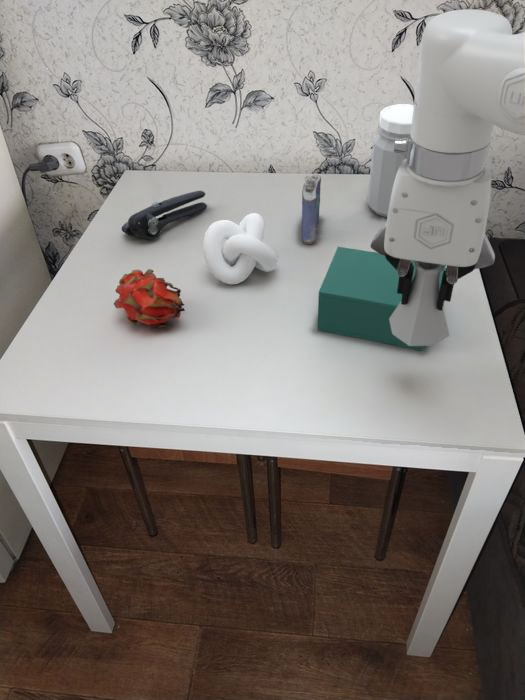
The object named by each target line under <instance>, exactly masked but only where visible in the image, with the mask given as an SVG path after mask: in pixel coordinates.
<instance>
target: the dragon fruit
mask: <svg viewBox="0 0 525 700" xmlns="http://www.w3.org/2000/svg"><path fill="white" fill-rule="evenodd" d="M118 284H119V285H117V286H116V288H115V293H116V294H118V295H119V297H118V298H117V299H115V301H114V302H113V305H114V307H115V308H116V309H124V311H125V314H126V317H127V319H128V321H129V322H130V323H131V324H132V325H133V326H137V325H138V324H139V322H140V323H141V324H144V325H147V326H150V327H154V328H165V327H168V326H171V324H169V323H166V322H167V321H168V320H171V319H175V318H177V319H179V318H180V316H181V313H182V312H186V309H185V307H183V306H185V303H183V301H182V298H180V296H181V292H182V290H181V288H178V287H176V286H174V285H173V283H171V282H168V281H166V279H164V277H157V276H156V274H155V273H154V270H153V269H146V271H145V272H143V271H142V270H141V269H133V270H132V271H131V272H130V273H124V274H123V275H122V277H121V278H120V279H119V281H118ZM167 287H169V288H170V289H169V288H167ZM188 302H189V301H188Z"/></svg>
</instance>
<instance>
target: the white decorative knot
mask: <svg viewBox="0 0 525 700" xmlns="http://www.w3.org/2000/svg"><path fill="white" fill-rule="evenodd" d="M264 235H265V220H264V218H263V217H262V216H261V214H259V213H256V212H252V213H248V214H247V215H245V216H244V217H243V218H242V220H241V221H240V222H239V224H237V223H235V222H233V221H231V220H228V219H221V220H217V221H215V222H213V223H211V224H210V225H209V226H208V228H207V229H206V231H205V234H204V236H203V243H202V251H203V256H204V261H205V264H206V266H207V268H208V269H209V271H210V272H211V274H212V275H213V276H214V277H215V278H216V279H217V280H219V281H220V282H222V283H224V284H228V285H237V284H239V283H242V282H244V281H245V280H247V279H248V277H249V276H250V275H251V274H252V272H253V271H254V269H255V268H256V269H257V270H259V271H262V272H267V273H269V272H271V271H272V272H273V270H275V269H276V267H277V265H278V258H277V255H276V253H275V252H274V251H273V249H272V248H271V247H269V245H268V244H266V243H264V242H263V241H264ZM223 240H226V241H225V242H224V244H223V246H222V243H223Z"/></svg>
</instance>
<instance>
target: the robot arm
mask: <svg viewBox="0 0 525 700" xmlns="http://www.w3.org/2000/svg"><path fill="white" fill-rule="evenodd" d="M413 100H414V101H413V105H414V108H413V117H412V126H411V135H408V137H407V138H403V139H396V140H395V144H394V153H401V155H405V157H404V158H406V159H405V160H403V162H402V163H401V165H400V166H399V169H398V172H397V174H396V178H395V181H394V185H393V189H392V194H391V199H390V204H389V210H388V217H386V222H385V224H383V226H382V227H381V228H380V229H379V231H377V233H376V234H375V235H374V236H373V238H372V240H371V242H370V246H369V247H370V248H371V250H373V252H376V253H379V254H380V255H382V256H385V257H386V259H387V261H388V262H389V263H390V264H391V265H392V266H393V267H394V268H395V269H396V270H397V275H398V276H399V281H398V289H397V294H402V301H401V304H402V305H406V304H407V303H408V298H409V292H410V287H411V284H412V278H413V272H414V266H413V263H412V262H411V260H412V261H419V262H426V263H433V264H440V265H446V269H445V270H444V271H443V276H442V281H441V286H440V291H439V297H438V302H437V307H436V309H438V310H440V311H442V309H443V310H444V303H445V302H451V299H452V297H453V291H454V287H455V286H454V285H455V284H457V283H458V281H459V280H460V279H461V278H463V277H465V276H467V275H468V274H471V273H472V272H474V270H480V269H482V268H487V267H489V266H492V265H494V263H495V259H496V254H495V251H494V249H493V247H492V245H491V242H490V241H489V238H488V235H487V233H486V229H487V223H488V217H489V211H490V204H491V195H492V174H491V173H492V172H491V168H490V166H489V165H488V164H487V160H488V156H489V150H490V145H491V141H492V138H493V137H492V136H493V131H494V127H495V126H496V127H499V128H501V129H503V130H505V131H508V132H510V133H513V134H517V135H520V136H525V31H523V32H519V33H515V34H513V27H512V25H511V23H510V21H509V20H508V19H507V18H506V16H504V15H502V14H500V13H497V12H494V11H490V10H485V9H476V8H475V9H473V8H468V9H454V10H450V11H449V10H448V11H445V12H442V13H439V14H436V15H435V16H434V17H432V18H431V19H430V20H429V21H428V23H427V24H426V26H425V27H424V30H423V33H422V35H421V40H420V49H419V59H418V68H417V75H416V84H415V91H414V99H413Z"/></svg>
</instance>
